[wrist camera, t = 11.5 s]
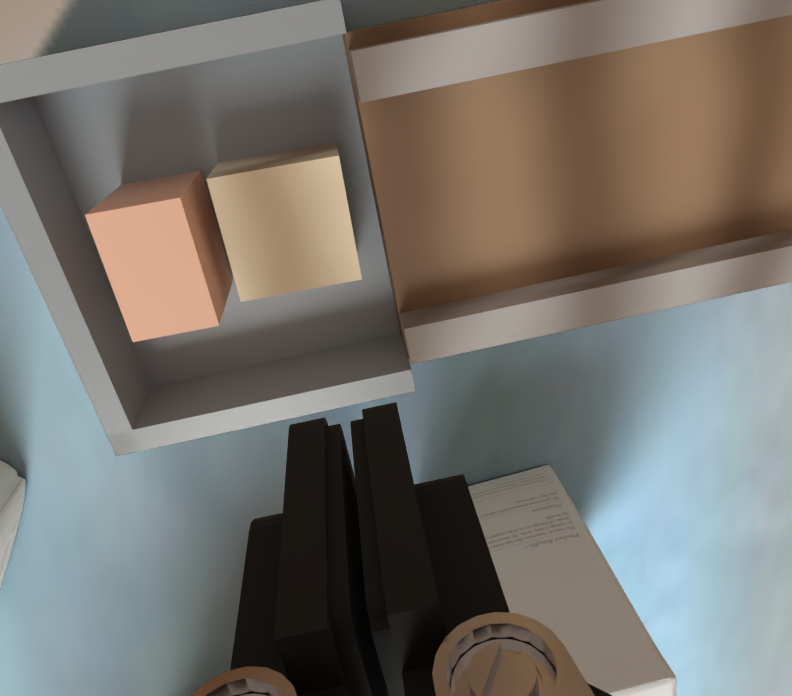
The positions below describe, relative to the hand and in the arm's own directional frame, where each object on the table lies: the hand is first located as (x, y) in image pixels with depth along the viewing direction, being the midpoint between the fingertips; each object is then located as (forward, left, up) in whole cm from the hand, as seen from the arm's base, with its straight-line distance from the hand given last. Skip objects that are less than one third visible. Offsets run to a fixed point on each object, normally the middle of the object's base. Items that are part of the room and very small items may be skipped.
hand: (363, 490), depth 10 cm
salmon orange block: (+4, 0, -15) cm, 16 cm away
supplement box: (-5, +19, -18) cm, 27 cm away
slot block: (-10, 0, -18) cm, 20 cm away
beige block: (+2, 0, -17) cm, 17 cm away
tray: (+4, 0, -18) cm, 19 cm away
